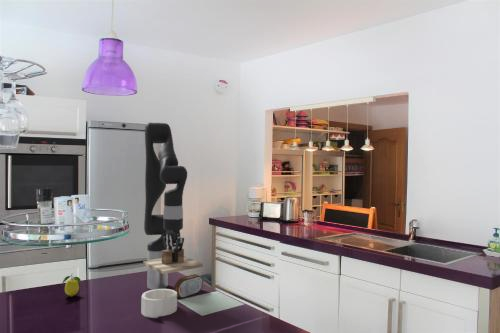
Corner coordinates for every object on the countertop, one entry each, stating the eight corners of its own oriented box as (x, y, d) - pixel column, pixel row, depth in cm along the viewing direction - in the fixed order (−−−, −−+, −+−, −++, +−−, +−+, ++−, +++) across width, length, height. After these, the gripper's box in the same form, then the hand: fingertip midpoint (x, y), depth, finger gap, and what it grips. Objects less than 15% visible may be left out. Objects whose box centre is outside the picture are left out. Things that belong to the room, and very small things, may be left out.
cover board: (143, 264, 155) (143, 248, 155) (181, 257, 166) (181, 243, 166) (163, 274, 142) (163, 257, 142) (203, 266, 153) (203, 250, 153)
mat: (176, 301, 162) (176, 300, 162) (217, 292, 174) (217, 291, 174) (201, 317, 146) (201, 315, 146) (244, 305, 159) (244, 304, 159)
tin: (199, 290, 177) (199, 271, 177) (204, 292, 175) (204, 273, 175) (173, 299, 165) (173, 279, 165) (178, 301, 163) (178, 280, 163)
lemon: (61, 299, 163) (62, 275, 163) (63, 295, 169) (63, 272, 169) (79, 298, 165) (79, 274, 165) (80, 293, 171) (80, 270, 171)
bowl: (136, 309, 153) (136, 293, 153) (167, 302, 161) (167, 286, 161) (150, 320, 143) (150, 302, 143) (182, 312, 151) (182, 295, 151)
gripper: (156, 215, 157) (155, 258, 157) (173, 220, 146) (172, 266, 146) (173, 214, 161) (172, 256, 162) (190, 218, 151) (190, 263, 151)
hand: (172, 260), depth 154 cm, fingers closed on cover board, 3 cm apart
